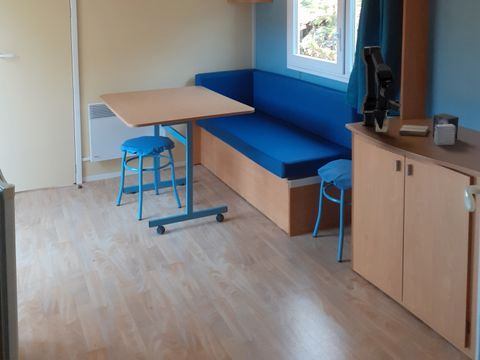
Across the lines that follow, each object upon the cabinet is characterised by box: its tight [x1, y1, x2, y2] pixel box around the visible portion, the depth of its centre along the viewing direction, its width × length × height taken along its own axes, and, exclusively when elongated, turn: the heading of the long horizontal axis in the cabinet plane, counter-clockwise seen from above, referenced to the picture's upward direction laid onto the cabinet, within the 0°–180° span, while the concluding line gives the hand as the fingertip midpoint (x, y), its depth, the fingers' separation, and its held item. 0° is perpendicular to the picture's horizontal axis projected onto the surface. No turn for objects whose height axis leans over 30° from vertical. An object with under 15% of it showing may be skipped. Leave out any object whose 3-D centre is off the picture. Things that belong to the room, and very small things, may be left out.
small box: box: [432, 113, 460, 140], centre depth 293 cm, size 11×6×10 cm, turn 23°
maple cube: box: [375, 116, 390, 133], centre depth 303 cm, size 5×5×6 cm
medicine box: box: [433, 124, 456, 146], centre depth 282 cm, size 8×4×9 cm, turn 92°
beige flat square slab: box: [398, 124, 429, 137], centre depth 306 cm, size 12×12×2 cm
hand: (382, 127), depth 304 cm, fingers closed on maple cube, 5 cm apart
